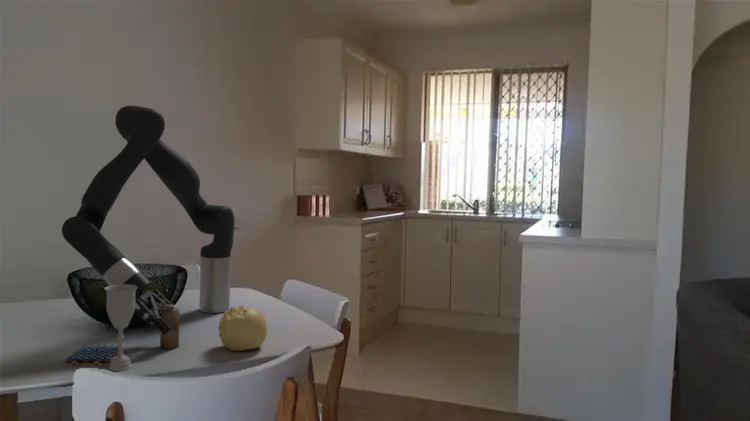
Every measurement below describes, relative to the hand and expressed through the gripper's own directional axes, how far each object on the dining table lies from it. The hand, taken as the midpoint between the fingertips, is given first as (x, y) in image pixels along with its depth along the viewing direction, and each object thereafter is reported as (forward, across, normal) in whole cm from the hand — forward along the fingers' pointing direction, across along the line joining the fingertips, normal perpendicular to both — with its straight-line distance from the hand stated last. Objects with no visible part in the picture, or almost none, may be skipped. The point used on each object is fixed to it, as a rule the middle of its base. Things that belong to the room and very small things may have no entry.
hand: (173, 327), depth 149 cm
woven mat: (-6, -10, +15) cm, 19 cm away
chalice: (-1, -16, +8) cm, 18 cm away
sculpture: (+16, +1, -8) cm, 18 cm away
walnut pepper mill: (+3, 0, +4) cm, 5 cm away
